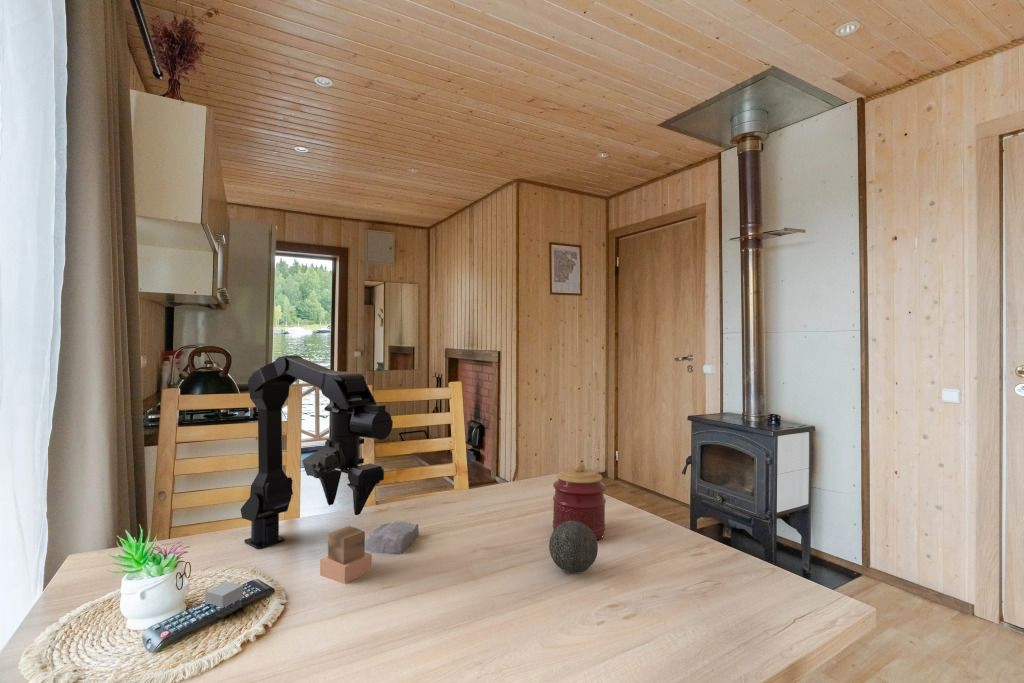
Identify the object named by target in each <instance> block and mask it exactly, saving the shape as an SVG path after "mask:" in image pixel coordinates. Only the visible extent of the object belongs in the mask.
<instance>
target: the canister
mask: <svg viewBox="0 0 1024 683" xmlns="http://www.w3.org/2000/svg"><path fill="white" fill-rule="evenodd" d="M585 466H586V465H585V464H584V462H582V461H577V462H575V463H574V465H573V467H565V468H563V469H562V470H561V471H559V472H558V473H556V477H557V480H555V481H554V482H553V484H552V486H553V488H554V495H553V497H552V500H553V511H552V512H553V520H552V528H553V531H554V530H555V528H556V527H557V526H559V525H560V524H562V523H564V522H566V521H578V522H581V523H583V524H585V525H587V526H588V527H589V528H590V529H591V530H592V531H593V533H594V534H595V537H596V539H599V538H601V537H602V536H603V535H604V536H605V531H606V517H605V516H606V503H607V501H606V498H605V497H604V496H605V495H604V492H605V490H606V484H604V483H603V482H602V480H603V475H601V474H600V473H599V472H597V470H595V469H593V468H588V467H585ZM604 536H603V537H604ZM603 537H602V538H603ZM602 538H601V539H602ZM599 540H600V539H599Z"/></svg>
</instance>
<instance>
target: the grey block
mask: <svg viewBox="0 0 1024 683" xmlns="http://www.w3.org/2000/svg"><path fill="white" fill-rule="evenodd" d="M204 595H205V596H204V605H205V604H213V605H216V606H218V607H220V608H224V607H226V606H228V605H230V604H231V603H233V602H235V601H237V600H239V599H241V598H242V597H243V598H244V585H243V584H239V583H236V582H235V583H234V582H231V581H228V580H226V581H224V582H221V583H220V584H218V585H216V586H213V587H212V588H210V589H208V590H206V591H205V593H204Z"/></svg>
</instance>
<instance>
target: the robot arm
mask: <svg viewBox="0 0 1024 683" xmlns="http://www.w3.org/2000/svg"><path fill="white" fill-rule="evenodd" d="M298 380H300V381H301V382H305V383H307V384H309V385H311V386H313V387H315V388H318V389H319V390H320V391H321V394H322V395H323V396H324V397H326V398H327V399H328V400H330V402H329V403H328V404H327V405H326V406H325V407H324V409H323V410H324V411H325V412H331V419H330V421H331V425H330V426H331V427H330V431H331V432H330V438H326V441H324V442H325V443H324V448H321V449H320V450H316V451H314V452H313V453H311V454H310V455H307V457H304V458H303V459H302V461H301V462H302V465H303V467H304V468H303V469H304V471H305V475H306V476H311V477H313V478H315V479H319V481H320V484H321V487H322V488H323V489H322V490H323V493H324V496H325V499H326V504H327V505H328V506H332V505H334V504H335V500H336V496H337V492H338V489H339V486H340V480H341V477H342V473H344V474H347V480H348V482H349V483H347V484H346V485H347V486H348V487H349V488H350V489H351V490H352V500H353V501H352V502H353V512H354V516H359V515H361V513H362V511H363V509H364V507H365V505H366V503H367V501H368V499H369V497H370V496H371V495H372V494H371V493H372V492H373V490H374V489H375V487H376V485H378V484H380V482H381V481H384V480H385V469H384V468H383V467H382V466H381V465H378V464H374V463H371V462H370V463H366V464H365V458H364V457H362V456H361V457H360V452H361V451H360V450H361V449H360V448H361V445H364V444H365V439H371V440H372V439H373V440H377V441H384V440H385V439H386V438H388V437H389V435H390V434H391V432H392V429H393V424H394V423H393V422H394V421H393V420H392V416H391V414H390V413H389V411H386V405H385V404H377V402H376V400H375V397H374V396H373V393H372V392H371V389H370V388H369V385H368V384H367V382H366V380H365V376H364V374H362V373H359V372H351V371H343V370H342V371H339V370H333V369H331V368H328V367H326V366H323V365H320V364H318V363H315V362H313V361H310V360H308V359H305V358H303V357H302V356H300V355H297V354H296V355H294V354H292V355H291V354H290V355H287V354H286V355H281V356H278V357H277V358H275V359H274V361H272V362H270V363H268V364H266V365H264V366H262V367H260V368H258V369H257V370H256V371H254V372H252V374H251V376H249V377H248V381H247V386H248V391H249V398H250V400H251V402H252V403H253V404H254V407H256V409H257V434H258V435H257V437H258V438H257V440H258V441H257V443H258V445H257V446H258V447H257V448H258V454H257V456H258V471H257V472H258V473H257V474H256V476H255V478H254V479H253V482H252V483H251V484H250V485H251V486H250V490H249V491H250V492H249V498H248V499H247V500H246V501H245V503H244V504H243V505H242V506H241V508H240V514H241V519H243V520H246V521H250V522H251V524H250V525H251V526H250V537H249V538H246V539H244V540H243V541H244V543H245V544H247V545H250V546H252V547H253V548H256V549H261V548H265V547H268V546H271V545H274V544H277V543H281V542H283V541H285V540H286V538H285V537H284V536H282V535H279V534H280V532H279V531H280V514H281V513H286V512H288V510H289V507H290V503H291V500H292V496H293V495H294V492H293V479H292V477H291V476H289V477H288V476H287V474H286V473H285V471H284V470H283V414H282V413H283V406H284V404H285V403H286V401H287V399H288V398H289V396H290V388H291V386H292V385H293V384H294V383H296V382H297V381H298ZM361 464H362V465H361Z"/></svg>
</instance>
